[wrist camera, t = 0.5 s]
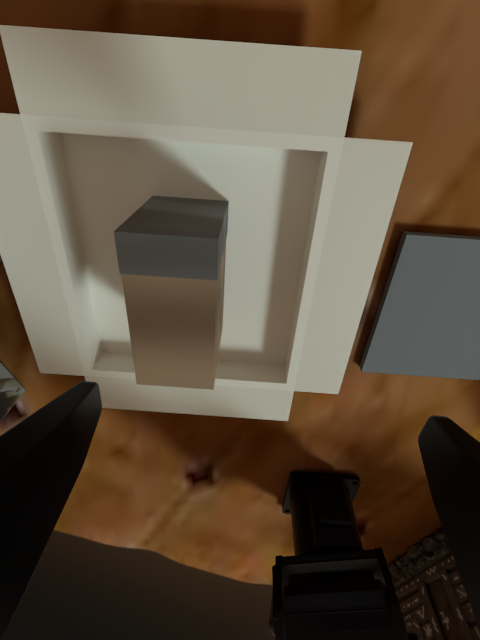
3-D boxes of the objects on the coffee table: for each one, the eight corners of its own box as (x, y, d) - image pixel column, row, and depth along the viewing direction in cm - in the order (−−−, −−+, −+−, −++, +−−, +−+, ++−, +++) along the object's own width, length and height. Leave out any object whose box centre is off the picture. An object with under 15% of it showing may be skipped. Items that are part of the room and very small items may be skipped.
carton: (323, 399, 27) (329, 423, 25) (66, 381, 27) (50, 404, 25) (414, 62, 15) (438, 56, 13) (-35, 30, 15) (-79, 19, 13)
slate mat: (496, 375, 25) (501, 381, 24) (359, 366, 25) (361, 371, 24) (578, 243, 19) (587, 247, 19) (403, 231, 19) (407, 234, 19)
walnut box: (223, 325, 23) (214, 390, 18) (162, 321, 23) (135, 384, 18) (228, 201, 18) (218, 238, 13) (152, 195, 18) (113, 231, 13)
